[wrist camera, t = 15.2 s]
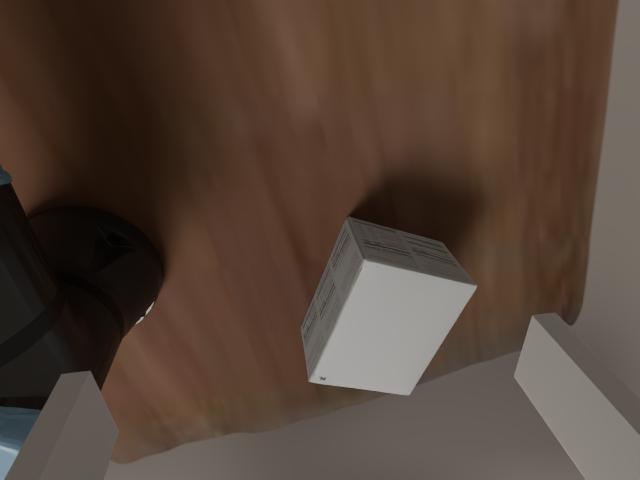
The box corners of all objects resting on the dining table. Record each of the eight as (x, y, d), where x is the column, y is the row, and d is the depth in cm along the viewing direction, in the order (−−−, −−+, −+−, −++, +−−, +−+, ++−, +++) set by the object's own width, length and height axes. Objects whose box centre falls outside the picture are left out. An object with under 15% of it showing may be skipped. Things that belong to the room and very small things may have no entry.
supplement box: (388, 341, 56) (410, 397, 48) (299, 326, 52) (306, 383, 44) (445, 240, 48) (482, 287, 40) (345, 214, 45) (364, 259, 37)
